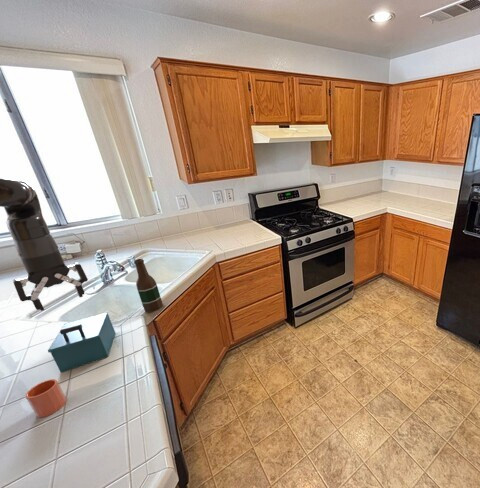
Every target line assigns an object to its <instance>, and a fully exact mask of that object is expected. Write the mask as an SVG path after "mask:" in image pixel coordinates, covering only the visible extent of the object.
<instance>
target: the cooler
mask: <svg viewBox="0 0 480 488" xmlns="http://www.w3.org/2000/svg"><path fill="white" fill-rule="evenodd" d="M115 336H116V330H115V328H114V326H113V323H112V320H111V318H110V316H109V314H108V315H107V318H106V320H105V323H104V326H103V328H102V331H101V333H100V336H99V337H98V338H95V339H92V340H88V341H85V342H82V343H78V344H75V345H72V346H68V347H65V348H62V349H58V350H55V351H52V352H50V354H51V356H52V358H53V360H54V362H55V365H56V366H57V368H58V370H59V372H60V373H64V372H67V371H70V370H73V369H75V368H79V367H82V366H85V365H87V364H91V363H94V362H97V361H100V360H103V359H106V358H108V357H109V356H110V352H111V349H112V345H113V342H114V339H115ZM96 360H97V361H96ZM93 361H94V362H93Z"/></svg>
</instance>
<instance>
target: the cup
mask: <svg viewBox="0 0 480 488" xmlns="http://www.w3.org/2000/svg"><path fill="white" fill-rule="evenodd" d="M25 399H26V400H27V402H28V403H29V405H30V407H31V409H32V410H33V412H34V414H35V415H36V417H38V418H46V417H48V416H51V415H53V414H55V413H56V412H58V411H59V410H60V409H62V408H63V407H64V406H65V404H66V403H67V398H66V396H65V394H64V392H63V390H62V388H61V386H60V384H59V382H58V380H57V379H54V378H52V379H46V380H44V381H42V382H39V383H38V384H36V385H34V386H32V387H31V388H30V389H29V390H28V391H27V392H26V393H25Z"/></svg>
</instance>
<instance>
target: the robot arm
mask: <svg viewBox="0 0 480 488" xmlns="http://www.w3.org/2000/svg"><path fill="white" fill-rule="evenodd" d="M0 207H1V208H3V209H4V212H5V213H6V216H7V218H6V221H5V223H6V227H7V230H8V231H9V234H10V236H11V238H12V240H13V242H14V246H15V249H16V252H17V255H18V256H19V259H20V260H21V263H22V264H23V266H24V268H25V271H26V272H27V277H23V278H14V279H13V280H12V283H13V285H14V288H15V290H16V293H17V295H18V298H19V301H20V302H26V301H31V302H32V304H33V307H34V308H35V309H36V310H37V311H40V312H42V311H45V308H44V306H43V304H42V301H41V299H40V298H39V296H40V294H41V293H42V292H43V290H44V288H47V289H48V288H51V287H53V286H58V285H61V284H63V283H64V282H66V283H68V284H72V285H73V286H74V289H75V291H76V293H77V296H78V297H79V298H83V297H84V295H85V290H84V287H83V286H82V285H83V284H84V283H86V282H88V281H89V278H88V277H87V275H86V272H85V270H84V269H83V267H82V265H81V264H80V263H79V262H74V263H73V264H70V265H68V266H67V265H66V264H65V261H64V259H63V257H62V253H61V252H60V250H59V245H58V244H57V242H56V240H55V239H54V237H53V235H52V233H51V231H50V229H49V226H48V224H47V222H46V220H45V218H44V216H43V211H42V208H41V203H40V200H39V196H38V194H37V191H36V190H35V188H34V187H33V186H32V185H31V184H30V183H29V182H28V181H25V180H23V179H19V178H15V177H13V178H2V177H0ZM70 270H72V271H73V272H76V273H77V274H78V276H79V278H77V279H76V278H73V277H71V276H69V273H70ZM28 282H29V283H31V284H33V285H34V286H33V288H32V291H31V292H30V294H26V293H25V290H24V288H25V287H26V286H27V283H28Z"/></svg>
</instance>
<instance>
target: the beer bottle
mask: <svg viewBox="0 0 480 488" xmlns="http://www.w3.org/2000/svg"><path fill="white" fill-rule="evenodd" d="M133 264H134V265H135V268H136V272H137V273H136V274H137V279H136V283H135V286H136V290H137V293H138V296H139V299H140V302H141V305H142V308H143V310H144V312H146V313H151V312H152V313H153V312H154V311H158V310H159V309H161V308H162V307H163V301H162V297H161V294H160V291H159V287H158V284H157V281H156V280H155V278H153V276H151V274H149V272H148V270H147V267H146V265H145V260H144V259H143V258H137V259H135V260H134V261H133Z"/></svg>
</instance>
